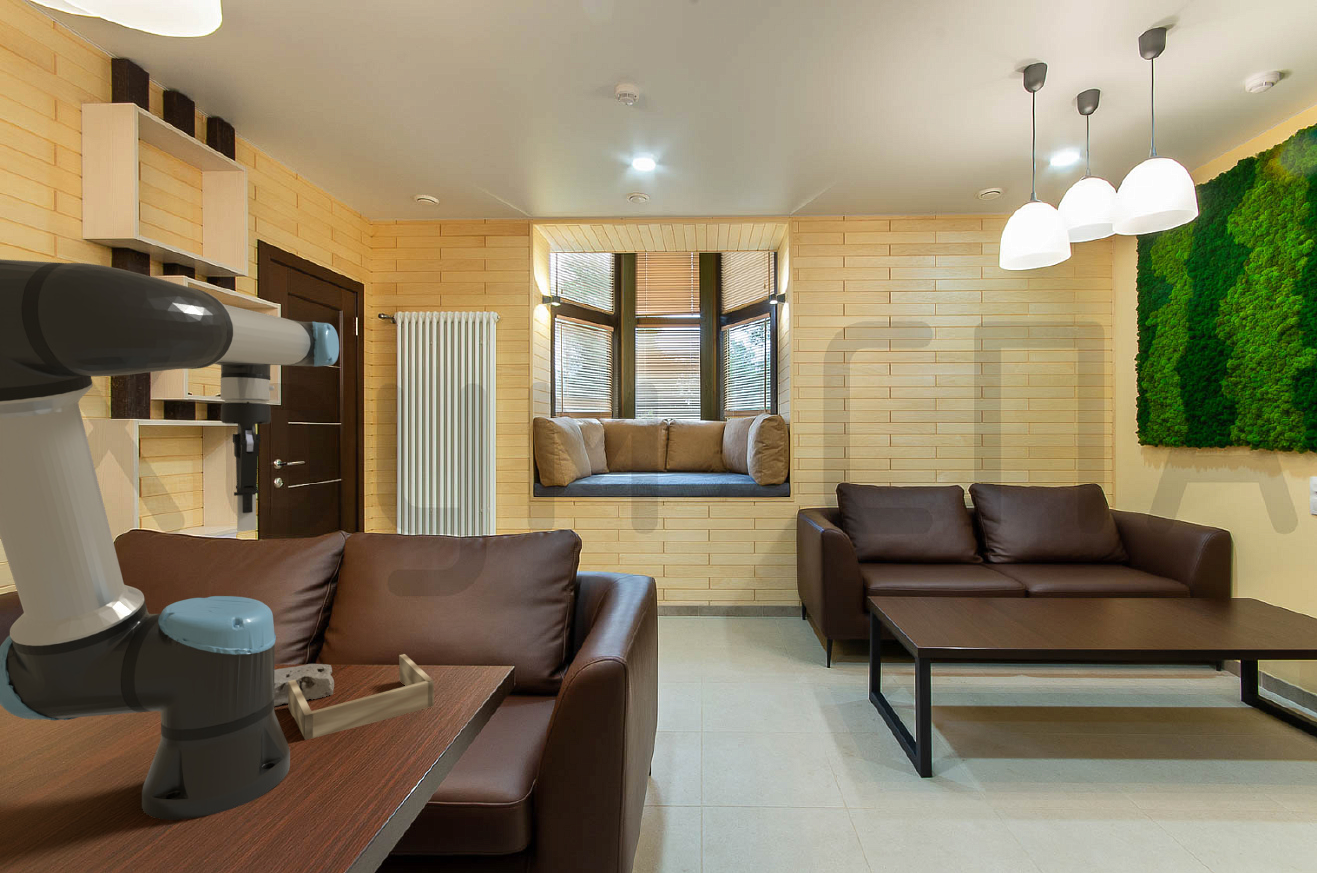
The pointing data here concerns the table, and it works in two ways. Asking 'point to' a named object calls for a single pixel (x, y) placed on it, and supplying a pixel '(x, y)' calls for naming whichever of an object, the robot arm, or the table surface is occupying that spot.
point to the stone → (303, 682)
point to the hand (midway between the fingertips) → (246, 529)
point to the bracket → (364, 704)
